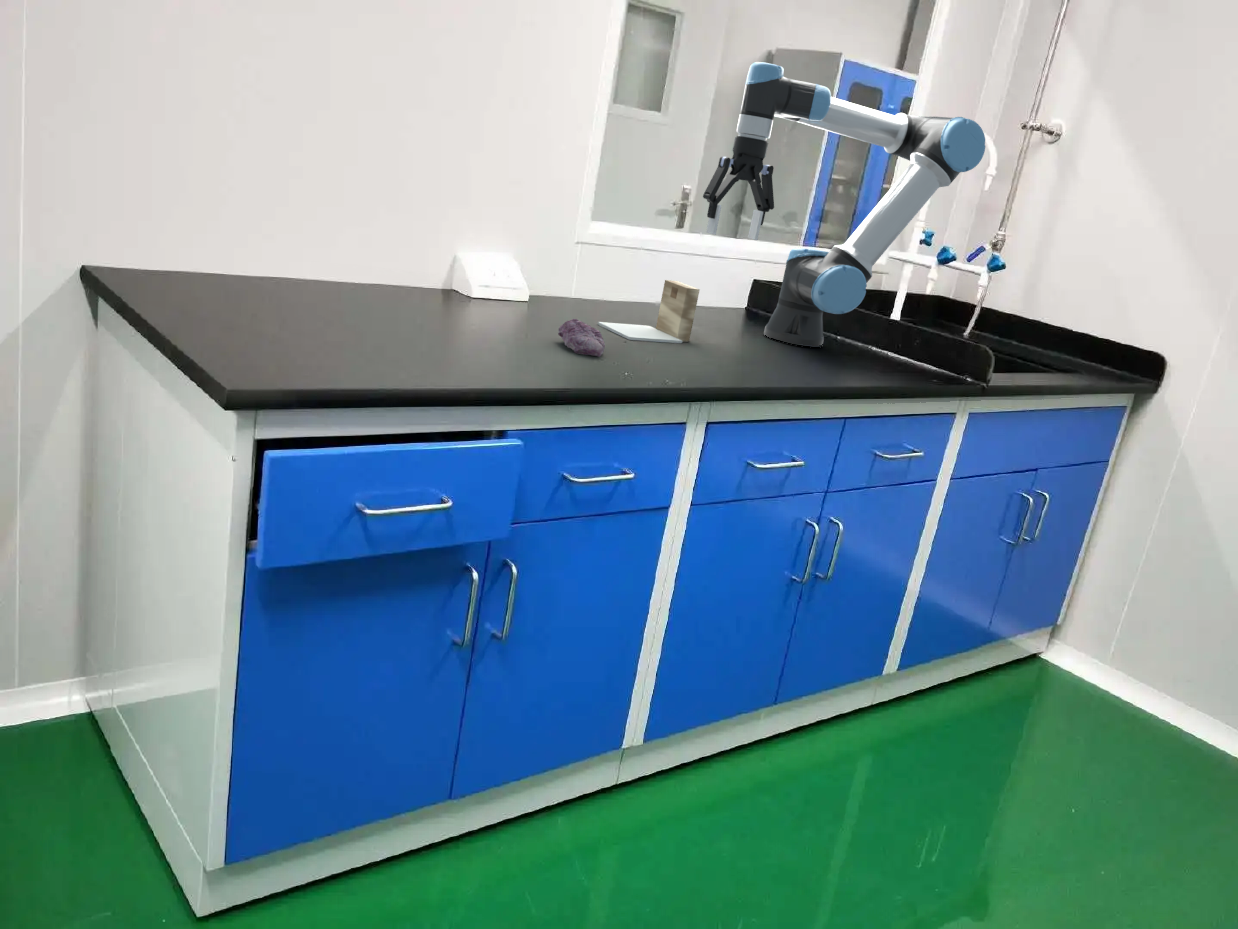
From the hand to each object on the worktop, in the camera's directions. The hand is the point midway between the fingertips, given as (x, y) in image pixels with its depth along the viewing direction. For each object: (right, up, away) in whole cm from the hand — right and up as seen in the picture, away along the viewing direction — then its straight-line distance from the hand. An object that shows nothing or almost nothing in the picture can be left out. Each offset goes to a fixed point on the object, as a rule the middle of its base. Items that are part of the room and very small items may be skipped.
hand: (732, 236), depth 230 cm
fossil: (-34, -29, -31) cm, 54 cm away
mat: (-21, -23, -3) cm, 31 cm away
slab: (-14, -23, +1) cm, 26 cm away
